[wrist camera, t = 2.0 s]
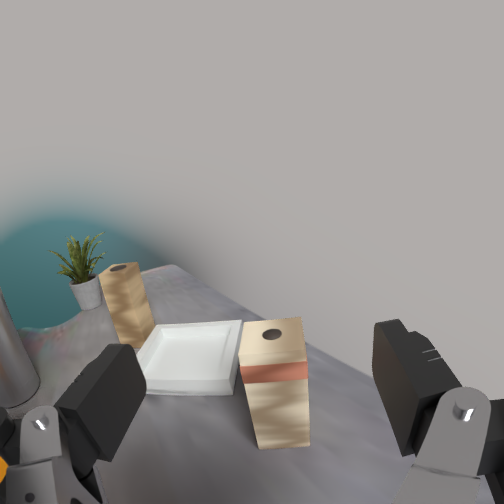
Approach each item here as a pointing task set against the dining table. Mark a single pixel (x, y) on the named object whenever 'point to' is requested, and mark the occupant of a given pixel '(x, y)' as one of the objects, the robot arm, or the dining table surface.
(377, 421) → the dining table surface
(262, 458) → the dining table surface
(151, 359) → the tray
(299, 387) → the maple post
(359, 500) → the dining table surface
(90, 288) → the house plant
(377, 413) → the dining table surface
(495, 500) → the robot arm
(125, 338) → the oak post
